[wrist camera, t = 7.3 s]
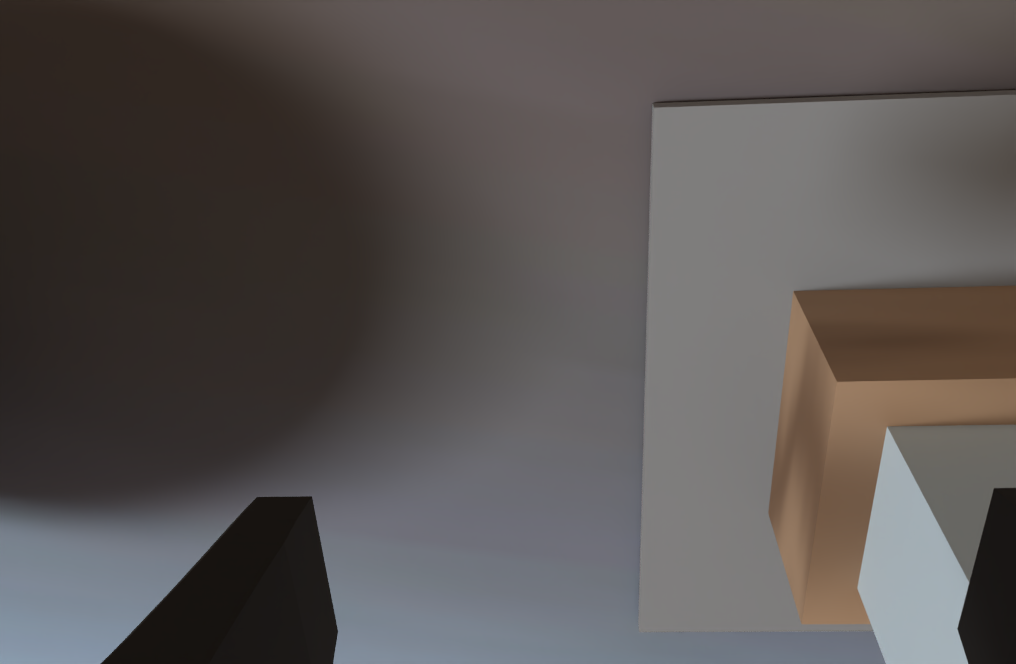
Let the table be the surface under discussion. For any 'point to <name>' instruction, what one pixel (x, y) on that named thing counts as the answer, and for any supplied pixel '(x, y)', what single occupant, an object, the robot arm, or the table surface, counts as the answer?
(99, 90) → the table surface
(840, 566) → the walnut block
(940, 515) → the pale grey small block
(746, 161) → the mat
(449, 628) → the table surface
